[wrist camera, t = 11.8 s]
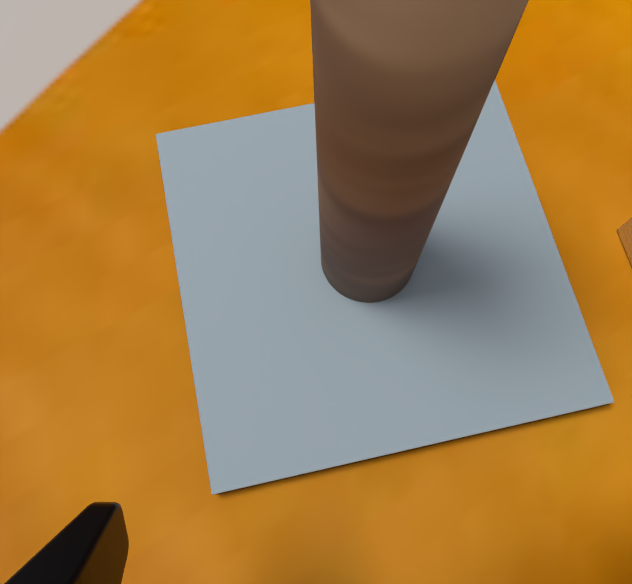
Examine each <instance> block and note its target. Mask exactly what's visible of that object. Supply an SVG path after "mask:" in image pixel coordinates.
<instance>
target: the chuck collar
mask: <svg viewBox="0 0 632 584" xmlns="http://www.w3.org/2000/svg"><path fill="white" fill-rule="evenodd" d="M617 231H618V234H619V236H620V239H621V241H622V244H623V246H624V249H625V251H626V253H627V256H628V258H629V261H630V263H631V266H632V218H631V219H629V220H628V221H627V222H626V223H625V224H623V225H622V226H621V227H620V228H619V229H617Z"/></svg>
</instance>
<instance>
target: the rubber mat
mask: <svg viewBox="0 0 632 584" xmlns="http://www.w3.org/2000/svg"><path fill="white" fill-rule="evenodd" d="M156 139H157V145H158V152H159V158H160V165H161V171H162V177H163V184H164V190H165V197H166V203H167V209H168V216H169V222H170V229H171V235H172V242H173V248H174V254H175V261H176V267H177V274H178V280H179V286H180V293H181V299H182V306H183V312H184V319H185V325H186V331H187V338H188V344H189V351H190V357H191V363H192V370H193V376H194V383H195V389H196V396H197V402H198V408H199V415H200V421H201V428H202V434H203V441H204V447H205V453H206V460H207V466H208V473H209V479H210V485H211V492H212V494H218V493H222V492H226V491H231V490H235V489H239V488H244V487H248V486H252V485H257V484H261V483H265V482H270V481H274V480H279V479H283V478H287V477H292V476H296V475H300V474H305V473H309V472H313V471H318V470H322V469H326V468H331V467H335V466H340V465H344V464H348V463H353V462H357V461H361V460H366V459H370V458H374V457H379V456H383V455H387V454H392V453H396V452H401V451H405V450H409V449H414V448H418V447H422V446H427V445H431V444H435V443H440V442H444V441H448V440H453V439H457V438H462V437H466V436H470V435H475V434H479V433H483V432H488V431H492V430H496V429H501V428H505V427H509V426H514V425H518V424H523V423H527V422H531V421H536V420H540V419H544V418H549V417H553V416H557V415H562V414H566V413H570V412H575V411H579V410H584V409H588V408H592V407H597V406H601V405H605V404H609V403H613V402H614V400H613V397H612V394H611V392H610V389H609V386H608V384H607V381H606V378H605V375H604V373H603V370H602V367H601V365H600V362H599V359H598V357H597V354H596V351H595V349H594V346H593V343H592V340H591V338H590V335H589V332H588V330H587V327H586V324H585V322H584V319H583V316H582V313H581V311H580V308H579V305H578V303H577V300H576V297H575V295H574V292H573V289H572V287H571V284H570V281H569V278H568V276H567V273H566V270H565V268H564V265H563V262H562V260H561V257H560V254H559V251H558V249H557V246H556V243H555V241H554V238H553V235H552V233H551V230H550V227H549V225H548V222H547V219H546V216H545V214H544V211H543V208H542V206H541V203H540V200H539V198H538V195H537V192H536V189H535V187H534V184H533V181H532V179H531V176H530V173H529V171H528V168H527V165H526V163H525V160H524V157H523V154H522V152H521V149H520V146H519V144H518V141H517V138H516V136H515V133H514V130H513V127H512V125H511V122H510V119H509V117H508V114H507V111H506V109H505V106H504V103H503V101H502V98H501V95H500V92H499V90H498V87H497V84H496V82H495V80H494V83H493V85H492V88H491V90H490V92H489V95H488V97H487V99H486V102H485V104H484V106H483V109H482V111H481V113H480V116H479V118H478V121H477V123H476V125H475V128H474V130H473V132H472V135H471V137H470V139H469V142H468V144H467V146H466V149H465V151H464V154H463V156H462V158H461V161H460V163H459V165H458V168H457V170H456V172H455V175H454V177H453V179H452V182H451V184H450V187H449V189H448V191H447V194H446V196H445V198H444V201H443V203H442V205H441V208H440V210H439V212H438V215H437V217H436V220H435V222H434V224H433V227H432V229H431V231H430V234H429V236H428V238H427V241H426V243H425V245H424V248H423V250H422V253H421V255H420V257H419V260H418V262H417V264H416V267H415V269H414V271H413V274H412V276H411V278H410V280H409V282H408V283H407V284H406V286H405V287H404V288H403V289H402V290H401V291H400V292H399V293H397V294H396V295H394V296H393V297H391V298H389V299H386V300H383V301H380V302H374V303H365V302H358V301H354V300H351V299H349V298H347V297H345V296H343V295H341V294H340V293H338V292H337V291H336V290H335V289H334V288H333V287H332V286H331V285H330V284H329V282H328V280H327V279H326V277H325V275H324V273H323V269H322V265H321V250H320V225H319V201H318V176H317V151H316V127H315V103H313V104H308V105H303V106H297V107H292V108H287V109H282V110H277V111H272V112H267V113H262V114H256V115H251V116H246V117H241V118H236V119H231V120H226V121H221V122H216V123H210V124H205V125H200V126H195V127H190V128H185V129H180V130H175V131H170V132H164V133H159V134H156Z"/></svg>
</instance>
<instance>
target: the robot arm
mask: <svg viewBox="0 0 632 584" xmlns="http://www.w3.org/2000/svg"><path fill="white" fill-rule="evenodd" d="M128 547H129V541H128V535H127V530H126V525H125V521H124V516H123V511H122V508H121V506H120V504H119V503H116V502H94V503H92V504H90V505H89V506H87V507H86V508H85V509H84V510H83V511H82V512H81V513H80V514H79V515H78V516H77V517H76V518H74V519H73V520H72V521H71V522H70V523H69V524H68V525H67V526H66V527H65V528H64V529H63V530H62V531H60V532H59V533H58V534H57V535H56V536H55V537H54V538H53V539H52V540H51V541H50V542H49V543H48V544H46V545H45V546H44V547H43V548H42V549H41V550H40V551H39V552H38V553H37V554H36V555H35V556H34V557H32V558H31V559H30V560H29V561H28V562H27V563H26V564H25V565H24V566H23V567H22V568H21V569H20V570H18V571H17V572H16V573H15V574H14V575H13V576H12V577H11V578H10V579H9V580H8V581H7V582H6V583H4V584H121V581H122V577H123V573H124V568H125V564H126V560H127V555H128Z"/></svg>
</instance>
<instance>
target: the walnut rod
mask: <svg viewBox="0 0 632 584" xmlns="http://www.w3.org/2000/svg"><path fill="white" fill-rule="evenodd" d="M310 3H311V28H312V52H313V77H314V102H315V127H316V151H317V176H318V201H319V225H320V250H321V265H322V269H323V273H324V275H325V277H326V279H327V280H328V282H329V284H330V285H331V286H332V287H333V288H334V289H335V290H336V291H337V292H338V293H340V294H341V295H343V296H345V297H347V298H349V299H351V300H354V301H358V302H365V303H374V302H380V301H383V300H386V299H389V298H391V297H393V296H394V295H396V294H397V293H399V292H400V291H401V290H402V289H403V288H404V287H405V286H406V284H407V283H408V282H409V280H410V278H411V276H412V274H413V271H414V269H415V267H416V264H417V262H418V260H419V257H420V255H421V253H422V250H423V248H424V245H425V243H426V241H427V238H428V236H429V234H430V231H431V229H432V227H433V224H434V222H435V220H436V217H437V215H438V212H439V210H440V208H441V205H442V203H443V201H444V198H445V196H446V194H447V191H448V189H449V187H450V184H451V182H452V179H453V177H454V175H455V172H456V170H457V168H458V165H459V163H460V161H461V158H462V156H463V154H464V151H465V149H466V146H467V144H468V142H469V139H470V137H471V135H472V132H473V130H474V128H475V125H476V123H477V121H478V118H479V116H480V113H481V111H482V109H483V106H484V104H485V102H486V99H487V97H488V95H489V92H490V90H491V88H492V85H493V83H494V80H495V78H496V76H497V73H498V71H499V69H500V66H501V64H502V62H503V59H504V57H505V55H506V52H507V50H508V47H509V45H510V43H511V40H512V38H513V36H514V33H515V31H516V29H517V26H518V24H519V22H520V19H521V17H522V14H523V12H524V10H525V7H526V5H527V3H528V0H310Z"/></svg>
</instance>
